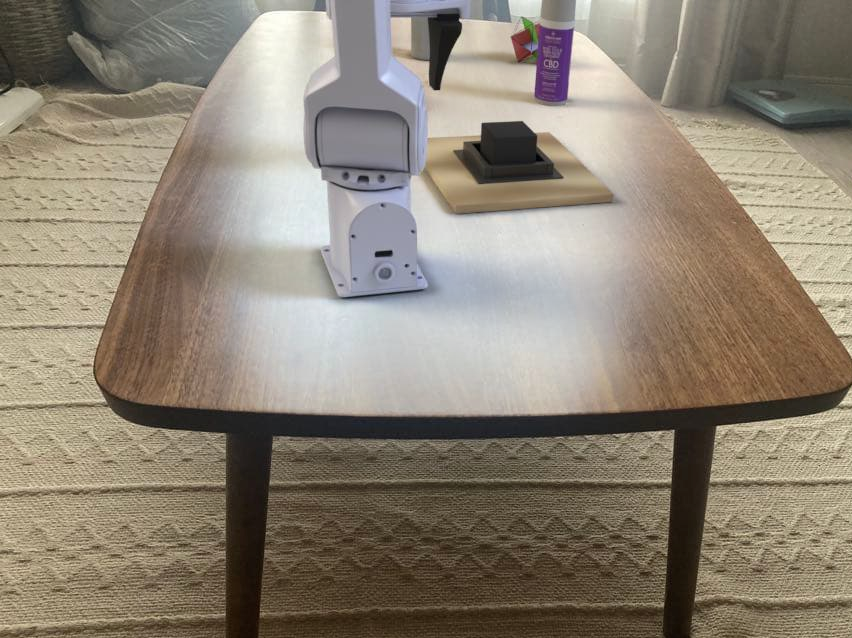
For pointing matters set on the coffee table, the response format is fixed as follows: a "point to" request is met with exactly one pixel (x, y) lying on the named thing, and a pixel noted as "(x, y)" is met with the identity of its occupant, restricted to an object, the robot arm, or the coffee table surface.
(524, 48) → the geometric puzzle
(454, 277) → the coffee table surface
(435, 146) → the pad base
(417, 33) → the grey upright cylinder
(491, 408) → the coffee table surface
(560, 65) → the container
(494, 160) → the black cube
